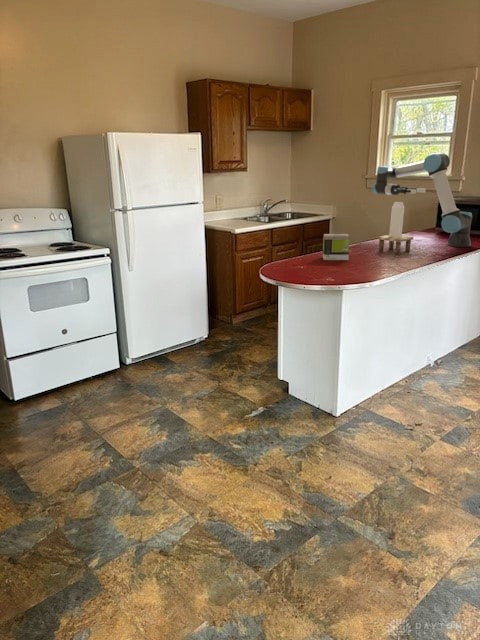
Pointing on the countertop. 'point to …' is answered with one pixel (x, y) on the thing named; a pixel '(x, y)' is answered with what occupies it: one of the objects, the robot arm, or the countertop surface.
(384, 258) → the countertop surface
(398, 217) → the milk
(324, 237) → the tea box
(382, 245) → the small table
